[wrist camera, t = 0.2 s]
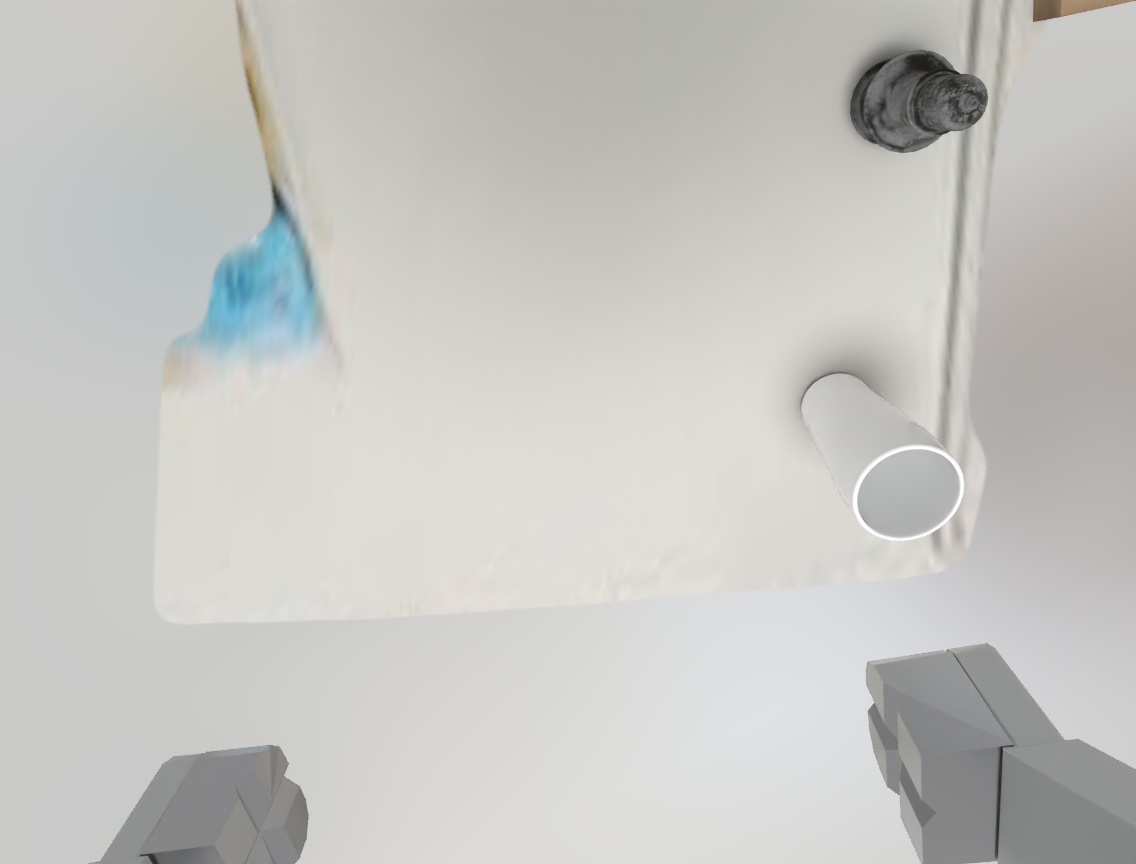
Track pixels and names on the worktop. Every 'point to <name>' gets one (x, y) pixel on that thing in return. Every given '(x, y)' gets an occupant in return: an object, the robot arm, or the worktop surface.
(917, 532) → the drinking glass
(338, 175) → the worktop surface
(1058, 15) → the base block
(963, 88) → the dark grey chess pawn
